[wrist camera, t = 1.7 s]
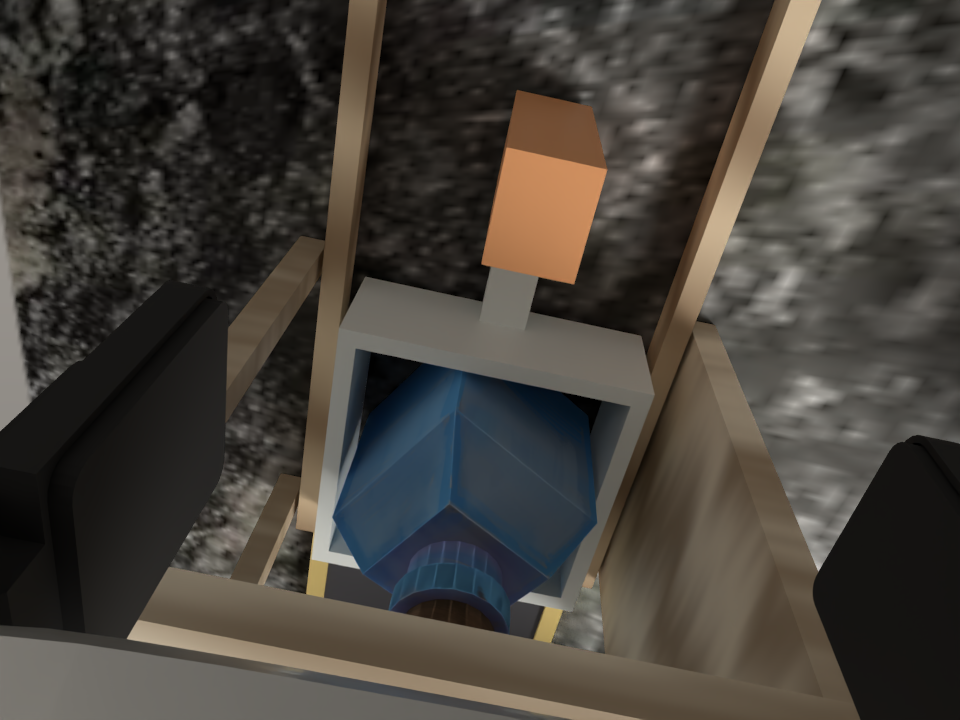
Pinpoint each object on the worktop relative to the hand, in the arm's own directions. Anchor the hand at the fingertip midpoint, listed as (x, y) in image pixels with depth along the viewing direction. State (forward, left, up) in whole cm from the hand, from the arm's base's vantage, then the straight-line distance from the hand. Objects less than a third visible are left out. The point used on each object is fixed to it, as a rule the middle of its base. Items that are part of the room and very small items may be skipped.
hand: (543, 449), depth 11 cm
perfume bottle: (+11, 0, -17) cm, 20 cm away
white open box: (+7, 0, -16) cm, 18 cm away
